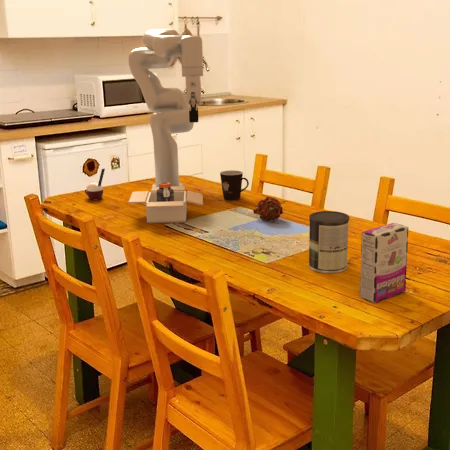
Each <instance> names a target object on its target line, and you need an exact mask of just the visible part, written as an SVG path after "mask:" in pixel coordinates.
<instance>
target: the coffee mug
mask: <svg viewBox="0 0 450 450" xmlns="http://www.w3.org/2000/svg"><path fill="white" fill-rule="evenodd" d="M243 174H244V173H243V171H240V170H233V169H231V170H223V171H220V172H219V176H220V182H221V183H220V184H221V190H222V195H223V196H222V198H223V200H224V201H228V202H229V201H238V200H240V199H241V196H242V195H241V194H242V192H243V191H245V190H246V189H247V188H248V187H249V184H250V183H249V180H248V179H247V178H246V177H243V176H244V175H243ZM243 180H245V181H246V186H245V187H244V188H242V186H243Z"/></svg>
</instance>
